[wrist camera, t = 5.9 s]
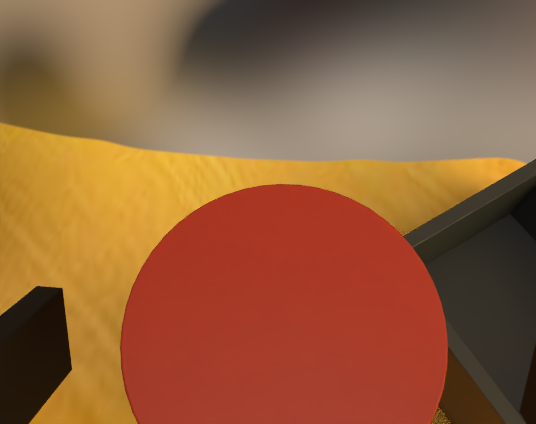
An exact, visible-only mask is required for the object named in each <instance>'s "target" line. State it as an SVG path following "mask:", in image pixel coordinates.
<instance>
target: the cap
mask: <svg viewBox="0 0 536 424" xmlns="http://www.w3.org/2000/svg"><path fill="white" fill-rule="evenodd" d="M120 351H121V369H122V375H123V380H124V386H125V391H126V394H127V397H128V400H129V403H130V406H131V409H132V412H133V414H134V416H135V418H136V420H137V423H138V424H431V422H432V420H433V418H434V416H435V414H436V411H437V408H438V405H439V402H440V399H441V396H442V392H443V389H444V383H445V377H446V371H447V359H448V340H447V330H446V322H445V317H444V313H443V309H442V305H441V301H440V298H439V296H438V293H437V290H436V288H435V285H434V282H433V280H432V278H431V276H430V275H429V273H428V271H427V269H426V267H425V265H424V263H423V262H422V260H421V259H420V257H419V256H418V255H417V253H416V252H415V250H414V249H413V247H412V246H411V245H410V244H409V243H408V242H407V240H406V239H405V238H404V237H403V236H402V235H401V234H400V233H399V232H398V231H397V230H396V229H395V228H394V227H393V226H392V225H390V224H389V223H388V222H387V221H386V220H385V219H384V218H382V217H381V216H379V215H378V214H376V213H375V212H373V211H372V210H371V209H369V208H367V207H366V206H364V205H362V204H360V203H358V202H356V201H354V200H352V199H350V198H348V197H345V196H343V195H340V194H338V193H335V192H332V191H328V190H324V189H320V188H316V187H310V186H303V185H289V184H276V185H263V186H257V187H252V188H247V189H243V190H239V191H236V192H233V193H230V194H227V195H224V196H222V197H220V198H218V199H215V200H213V201H211V202H209V203H207V204H205V205H204V206H202V207H200V208H199V209H197V210H195V211H194V212H192V213H191V214H190V215H188V216H187V217H186V218H184V219H183V220H182V221H180V222H179V223H178V224H177V225H176V226H175V227H174V228H173V229H172V230H171V231H170V232H168V233H167V234H166V235H165V236H164V238H163V239H162V240H161V241H160V242H159V244H158V245H157V246H156V247H155V248H154V250H153V251H152V252H151V254H150V255H149V257H148V259H147V260H146V262H145V263H144V265H143V266H142V268H141V270H140V272H139V274H138V276H137V278H136V280H135V283H134V285H133V287H132V290H131V293H130V296H129V299H128V302H127V305H126V309H125V314H124V319H123V323H122V332H121V345H120Z"/></svg>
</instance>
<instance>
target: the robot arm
mask: <svg viewBox="0 0 536 424" xmlns="http://www.w3.org/2000/svg"><path fill="white" fill-rule="evenodd" d="M71 370H72V366H71V357H70V349H69V340H68V332H67V323H66V315H65V306H64V298H63V289H62V288H54V287H42V286H37V287H35V288H34V289H33V290H32V291H30V292H29V293H28V294H27V295H25V296H24V297H23V298H22V299H21V300H19V301H18V302H17V303H16V304H14V305H13V306H12V307H11V308H9V309H8V310H7V311H6V312H4V313H3V314H2V315H1V316H0V424H29V423H30V421H31V420H32V419H33V418H34V416H35V415H36V414H37V413H38V411H39V410H40V409H41V408H42V406H43V405H44V404H45V403H46V401H47V400H48V399H49V398H50V396H51V395H52V394H53V392H54V391H55V390H56V389H57V387H58V386H59V385H60V384H61V382H62V381H63V380H64V379H65V377H66V376H67V375H68V374H69V372H70V371H71ZM520 413H521V415H522V417H523V419H524V420H525V422H526V424H536V344H535V348H534V352H533V356H532V360H531V365H530V369H529V373H528V377H527V381H526V386H525V390H524V394H523V398H522V402H521V407H520Z"/></svg>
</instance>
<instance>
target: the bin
mask: <svg viewBox="0 0 536 424" xmlns="http://www.w3.org/2000/svg"><path fill="white" fill-rule="evenodd" d="M403 237H404V238H405V239H406V240H407V242H408V243H409V244H410V245H411V246H412V247H413V249H414V250H415V252H416V253H417V255H418V256H419V257H420V259H421V260H422V262H423V263H424V265H425V267H426V269H427V271H428V273H429V275H430V276H431V278H432V280H433V282H434V285H435V288H436V290H437V293H438V296H439V298H440V301H441V305H442V309H443V313H444V317H445V322H446V330H447V340H448V359H447V371H446V377H445V383H444V389H443V392H442V396H441V399H440V402H439V406H440V408H441V409H442V410H443V412H444V413H445V415H446V416H447V418H448V419H449V421H450V422H451V423H452V424H526V422H525V420H524V419H523V417H522V415H521V413H520V407H521V402H522V398H523V394H524V390H525V386H526V381H527V377H528V373H529V369H530V365H531V360H532V356H533V352H534V348H535V344H536V159H535V160H533V161H532V162H530V163H528V164H526V165H525V166H523V167H521V168H520V169H518V170H516V171H514V172H513V173H511V174H509V175H508V176H506V177H504V178H502V179H501V180H499V181H497V182H496V183H494V184H492V185H490V186H489V187H487V188H485V189H484V190H482V191H480V192H478V193H477V194H475V195H473V196H471V197H470V198H468V199H466V200H465V201H463V202H461V203H459V204H458V205H456V206H454V207H453V208H451V209H449V210H447V211H446V212H444V213H442V214H441V215H439V216H437V217H435V218H434V219H432V220H430V221H429V222H427V223H425V224H423V225H422V226H420V227H418V228H417V229H415V230H413V231H411V232H410V233H408V234H406V235H405V236H403Z"/></svg>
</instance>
